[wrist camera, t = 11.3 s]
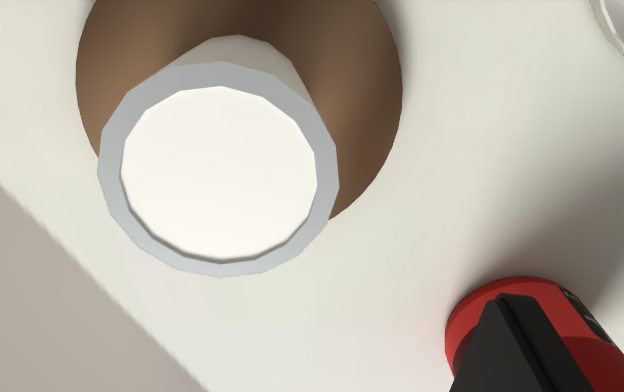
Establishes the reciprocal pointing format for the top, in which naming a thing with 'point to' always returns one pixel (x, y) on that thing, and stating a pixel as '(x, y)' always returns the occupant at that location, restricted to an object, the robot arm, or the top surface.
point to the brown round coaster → (278, 33)
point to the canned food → (564, 317)
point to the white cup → (220, 161)
